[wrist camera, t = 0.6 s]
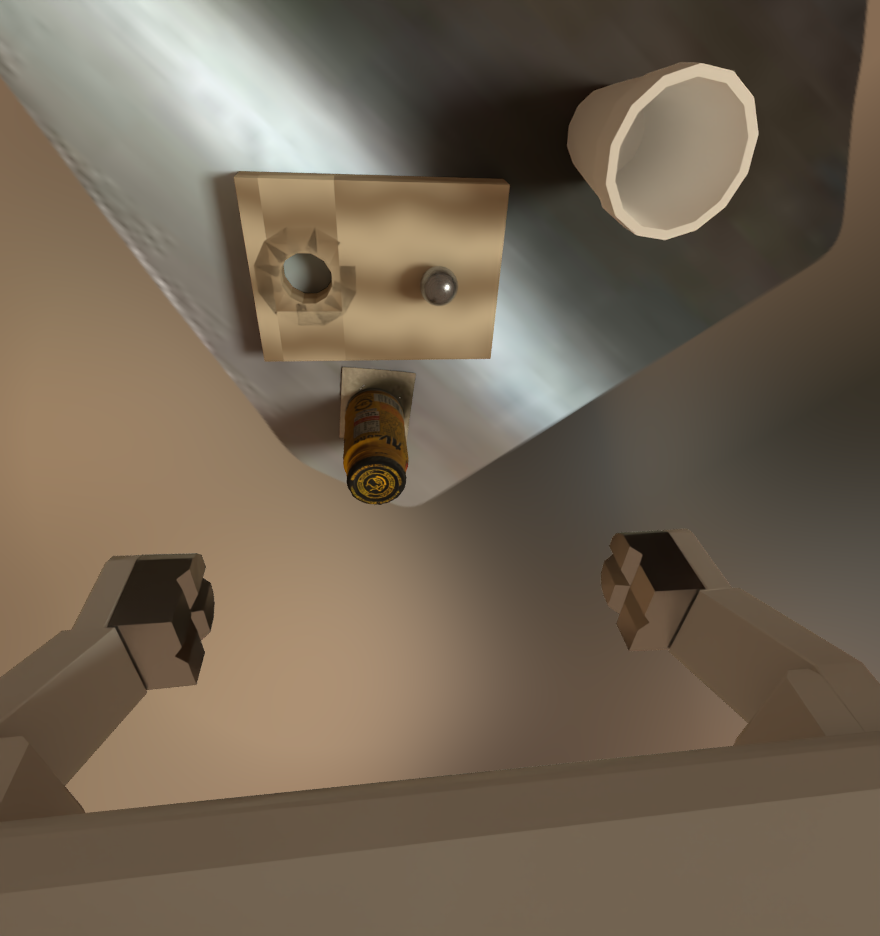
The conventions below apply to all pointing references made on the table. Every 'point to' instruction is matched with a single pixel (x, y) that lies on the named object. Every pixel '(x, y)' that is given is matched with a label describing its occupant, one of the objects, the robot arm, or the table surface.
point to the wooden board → (373, 263)
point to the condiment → (375, 431)
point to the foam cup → (666, 146)
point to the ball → (438, 286)
